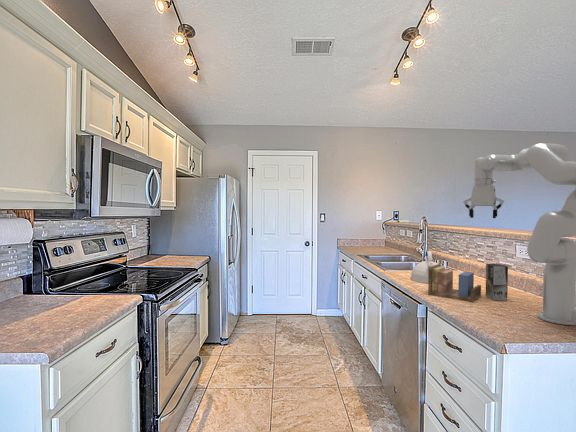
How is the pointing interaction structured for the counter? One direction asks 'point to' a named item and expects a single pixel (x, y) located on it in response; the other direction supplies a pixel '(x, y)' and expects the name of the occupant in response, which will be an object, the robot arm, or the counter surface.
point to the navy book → (465, 283)
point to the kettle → (422, 269)
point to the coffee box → (497, 281)
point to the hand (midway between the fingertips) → (482, 217)
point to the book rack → (447, 285)
